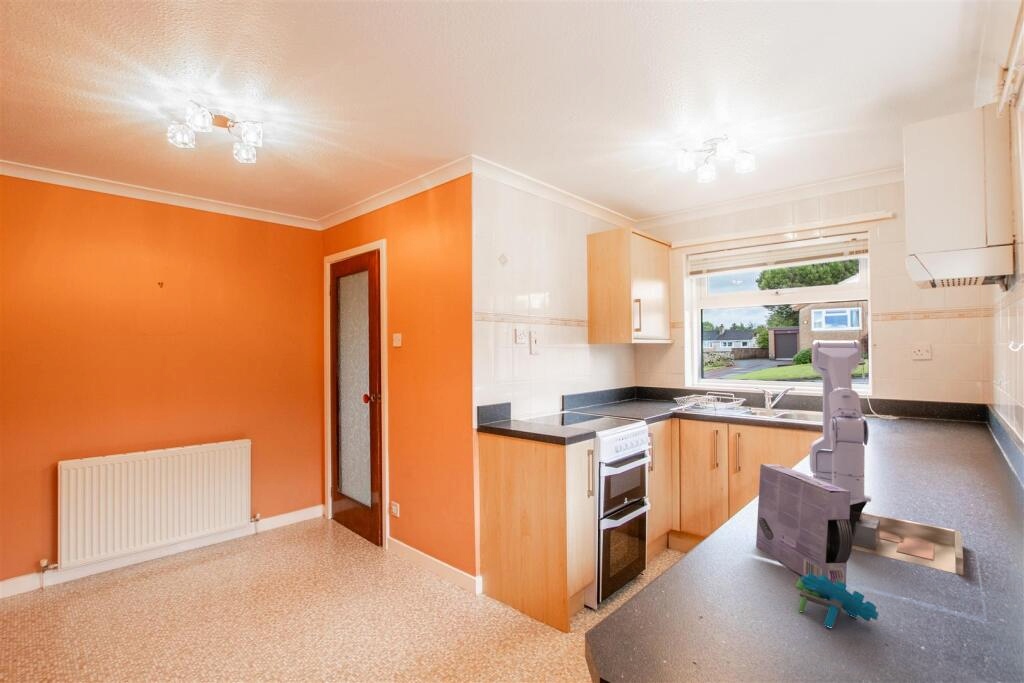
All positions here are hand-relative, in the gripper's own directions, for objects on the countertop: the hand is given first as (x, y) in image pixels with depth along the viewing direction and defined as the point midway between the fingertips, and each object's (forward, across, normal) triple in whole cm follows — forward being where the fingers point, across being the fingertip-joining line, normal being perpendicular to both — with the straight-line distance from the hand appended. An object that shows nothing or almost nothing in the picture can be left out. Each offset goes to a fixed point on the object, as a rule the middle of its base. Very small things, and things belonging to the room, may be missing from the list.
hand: (847, 536), depth 103 cm
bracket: (+1, +2, 0) cm, 2 cm away
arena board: (+2, +5, -6) cm, 8 cm away
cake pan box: (+2, -20, +5) cm, 21 cm away
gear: (+2, -36, -3) cm, 36 cm away
